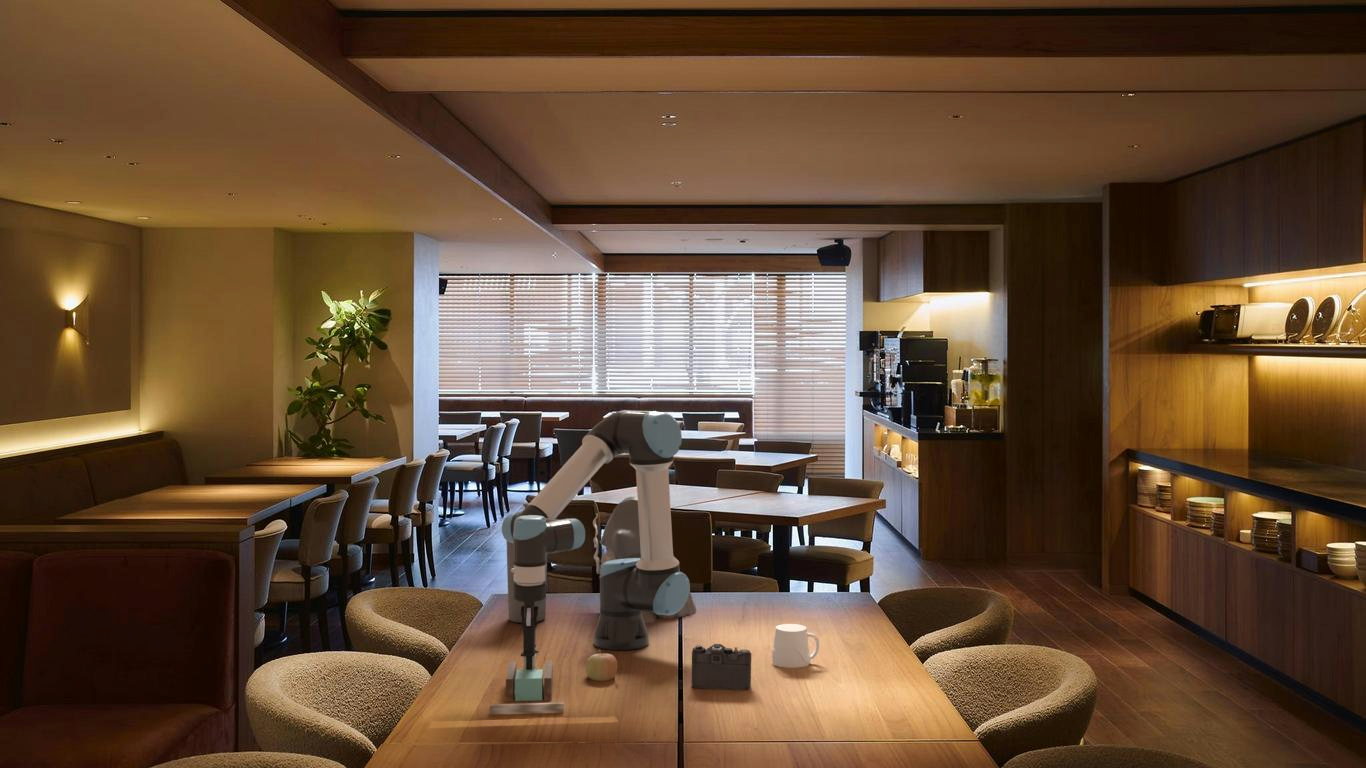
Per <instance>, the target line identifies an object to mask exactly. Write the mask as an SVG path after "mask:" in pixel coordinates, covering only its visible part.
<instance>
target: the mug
mask: <svg viewBox="0 0 1366 768" xmlns="http://www.w3.org/2000/svg"><path fill="white" fill-rule="evenodd" d="M808 637H810V638H813V639H814V640H815V646H814V650H813V652H812V653H811V654H810V647H809V646H810V645H809V639H808ZM773 639H774V640H773V645H772V646H773V648H772V649H771V661H772V663H771V664H772V666H775V667H779V668H789V669H790V668H791V669H795V668H797V669H798V668H805V667H808V666H810V664H811V660H813V659H814V658H816V657H817V655H818V653H819V650H820V640H819V638H818V636H817V635H816V634H815V633H812V632H808V629H807V627H806V626H805V625H802V624H799V623H798V624H796V623H782V624H778V625H776V626H775V631H774V637H773Z"/></svg>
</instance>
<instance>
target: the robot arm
mask: <svg viewBox="0 0 1366 768" xmlns="http://www.w3.org/2000/svg"><path fill="white" fill-rule="evenodd" d="M581 440H582V441H581V443H582V444H581V445H580V447H579V448H578V449H577V450H576V451H575V452H574V453H573V455H572V456H570V458H569V459H568V460H567V461H566V462H565V463H564V464H563V466H562V467H561V468H560V469H559V470H558V471H557V472H556V473H555V475H554V476H552V478H551V479H549V481H548V482H547V483H546V484H545V485H544V487H543V488H542V489H541V490H540V491H539V492H538V493H537V494H536V496H535V497H534V498H533V499H532V500H531V501H530V502H528V503H529V504H528V506H527V507H526V508H525V507H524V508H523V510H521V511H522V512H521V513H517V512H514V513H510V514H508V515H506V517H504V519H503V521H502V524H501V534H502V537H503V539H504V540H505V541H506V542H507V541H508V542H510V543H513V548H514V568H513V569H511V572H512V573H514V581H515V582H516V583H515V584H514V586H513V597H514V599H515V600H516V601H520V602H521V601H522V602H524V606H521V616H522V623H521V627H522V628H523V629H522V631H523V634H522V635H523V638H522V639H523V642H522V643H523V644H522V645H523V652H521V653H520V657H523V667H522V668H523V669H522V670H534V669H536V654H538V653H539V649H536V647H537V644H536V628H537V626H538V622H537V615H538V606H535V601H541V600H544V599H545V597H546V598H547V583H546V584H545V583H544V581H545V580H546V554H547V555H550V554H557V553H562V552H567V551H568V552H571V551H572V550H575V549H579V548H581V547H582V545H583V544H584V542H585V541H586V540H585V539H586V530H585V526H584V524H583V523H582V521H580V520H579V519H577V518H569V517H568V518H563V519H557V518H558V517H559V515H560V514H561V513H562V512H563V511H564V510H565V508H567V506H568V505H569V504H570V503H571V501H573V499H574V498H575V497H576V495H578V494H579V492H580V491H581V490H583V488H584V487H585V486H586V484H588V483H589V481H590V480H591V478H593V476H594V475H596V473H597V472H598V471H599V469H600V468H601V467H602V466H603V465H604V464H609V463H610V462H611V461H613V459H614V458H616V457H617V456H618V455H624V454H627V455H628V457H629V459H628V460H629V465H630V466H631V467H633V468H634V469H635V475H636V476H635V477H636V494H637V496H636V497H638V514H639V531H640V548H641V559H640V558H626V559H617V560H611V561H607V562H604V563H603V564H602V563H601V565H600V574H599V618H598V622H597V624H596V627H595V630H594V634H593V645H594V647H597V648H599V649H604V650H608V651H631V650H637V649H641V648H645V647H646V646H648V645H649V642H650V640H649V636H650V635H649V632H648V629H647V625H646V623H645V622H644V619H643V615H642V611H647V612H651V613H656V614H658V615H673V614H676V613H677V612H679V611H680V610H681V609H682V608H683V606H684V604H685V603H686V601H687V599H688V596H689V591H690V590H691V584H690V580H689V577H688V576H687V575H686V574H685V573H684V572H682V571H680V570H681V569H680V568H681V567H680V561H679V560H678V559H677V558H676V557H675V556H674V548H673V547H674V546H673V530H672V529H673V528H672V514H671V496H670V492H671V491H670V478H669V477H670V476H669V474H670V473H669V468H670V466H671V465H672V464H673V463H674V461H675V460H674V456H676V455H677V453H678V452H679V451H680V447H682V446H681V445H682V440H683V437H682V430H681V427H680V425H679V423H678V421H677V420H676V419H675V418H674V417H673V415H672V414H669V413H668V412H660V411H657V410H630V409H624V410H619V411H616V412H613V413H611V414H610V415H608V416H606V417H605V418H603V419H602V420H601V421H599V422H598V423H597V424H595V426H593V427H592V428H591V429H590V431H588V432H587V433H586V434H585V436H584V437H583V438H582V439H581ZM690 592H691V591H690Z"/></svg>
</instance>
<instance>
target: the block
mask: <svg viewBox="0 0 1366 768" xmlns="http://www.w3.org/2000/svg"><path fill="white" fill-rule="evenodd" d="M543 695H544V669H543V668H540V669H539V668H537V669H536V668H535V669H534V670H523V669H517V672H516V678H515V693H514V698H515V699H514V700H515V702H523V701H524V702H525V701H526V702H528V701H530V702H531V701H543Z"/></svg>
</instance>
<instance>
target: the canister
mask: <svg viewBox="0 0 1366 768" xmlns="http://www.w3.org/2000/svg"><path fill="white" fill-rule="evenodd" d="M529 503H530V502H524V503H522V506H523V507H524V509H525V508H526V507H527V506H528V504H529ZM522 511H523V510H521V511H517V512H516V513H521V512H522ZM513 568H514V548H513V543H510V542H508V541H507V540H506V571H507V573H506V574H507V575H506V576H507V603H508V605H507V608H508V620H509V621H511V622H513V623H518V624H522V616H521V606H524V602H522V601H521V602H520V601H516V600H515V599H514V597H513V586H514V584H515V583H516V582H515V581H514V573H512V572H511V569H513ZM547 573H548V554H546V580H545V581H544V583H545V584H546V585H547V579H548V578H547V575H548V574H547ZM535 606H538V615H537V623H538V622H541V621H544V620H545V619H546V613H547V611H546V609H547V607H546V606H547V596H546V597H545V599H544V600H541V601H535Z"/></svg>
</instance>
